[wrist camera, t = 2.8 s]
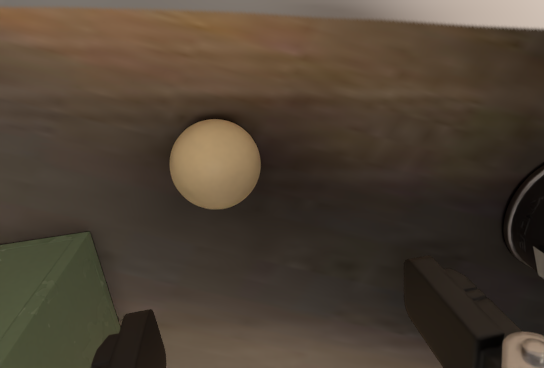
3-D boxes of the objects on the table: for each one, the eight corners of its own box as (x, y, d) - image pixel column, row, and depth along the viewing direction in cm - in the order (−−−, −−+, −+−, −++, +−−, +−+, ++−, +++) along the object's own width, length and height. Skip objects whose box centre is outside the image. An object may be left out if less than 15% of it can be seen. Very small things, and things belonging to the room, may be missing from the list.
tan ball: (258, 113, 25) (267, 132, 20) (255, 190, 26) (262, 225, 22) (173, 109, 24) (161, 128, 19) (175, 189, 26) (165, 224, 21)
